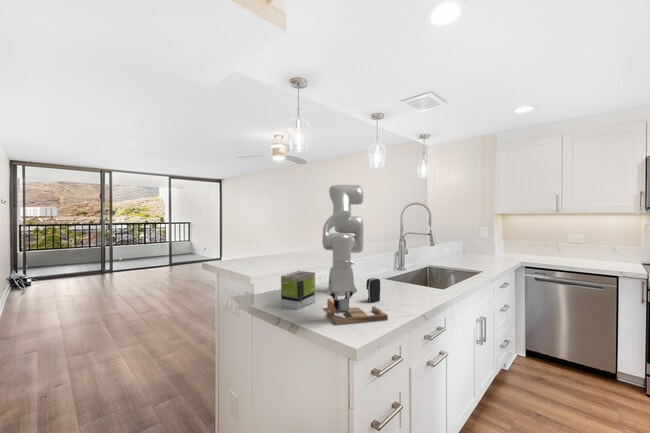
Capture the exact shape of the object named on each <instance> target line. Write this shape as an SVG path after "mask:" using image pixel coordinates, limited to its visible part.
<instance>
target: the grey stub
mask: <svg viewBox="0 0 650 433" xmlns="http://www.w3.org/2000/svg"><path fill="white" fill-rule="evenodd" d="M338 301H339V302H338V310H337V309H336V308H335V310H336V313H335V314H345V313H344V312H346V311H348V310H350V309H349V308H350V301H349V302H348V299H344V298H338Z"/></svg>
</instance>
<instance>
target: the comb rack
mask: <svg viewBox="0 0 650 433" xmlns="http://www.w3.org/2000/svg"><path fill="white" fill-rule="evenodd" d="M349 309H350V310H348V311H346V312H344V313H343V314H345V315H346V316H347V317H337V315H335V313H333V312H332V311H331V310H329V309H327V310H326V316H327V317H328V318H329V320H331V322H332V323H333V324H334V325H335V326H338V325H348V324H349V325H350V324H351V325H353V324H362V323H370V322H382V321H388V320H389V317H388V316H389V315H388V314H387V313H386V312H384V311H382V310H381V309H379V308H378V306H375V305H374V306H373V305H372V306H371V312H373V313H374V314H373V315H370V314H369V315H368V314H367V313H366V312H365V311H363V310H362V309H361V308H360V307H349Z"/></svg>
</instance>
